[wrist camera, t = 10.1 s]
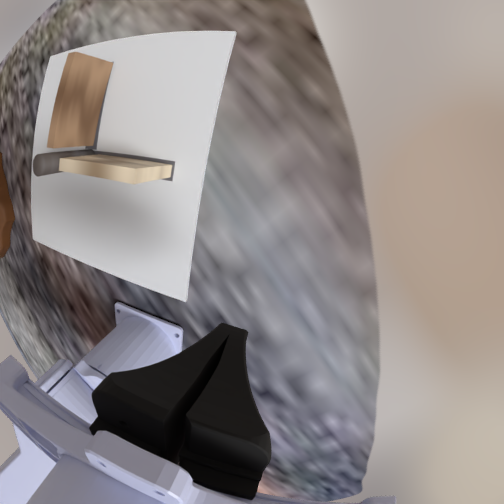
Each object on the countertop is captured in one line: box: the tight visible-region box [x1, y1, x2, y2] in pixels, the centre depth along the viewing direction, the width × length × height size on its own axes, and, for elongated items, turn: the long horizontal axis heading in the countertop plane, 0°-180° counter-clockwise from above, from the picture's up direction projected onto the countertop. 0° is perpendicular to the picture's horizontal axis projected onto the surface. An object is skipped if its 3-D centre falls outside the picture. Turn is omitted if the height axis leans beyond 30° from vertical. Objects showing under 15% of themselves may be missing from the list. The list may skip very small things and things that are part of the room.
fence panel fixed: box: [33, 149, 172, 184], centre depth 18 cm, size 10×2×6 cm, turn 78°
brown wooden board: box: [47, 52, 113, 148], centre depth 17 cm, size 8×1×5 cm, turn 165°
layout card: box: [31, 31, 236, 302], centre depth 21 cm, size 23×23×1 cm
